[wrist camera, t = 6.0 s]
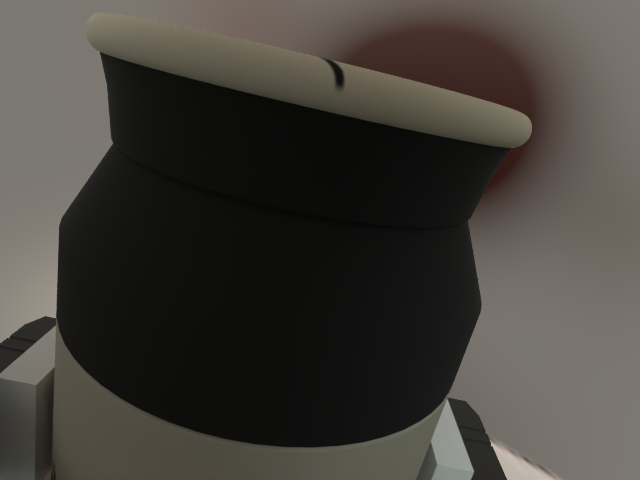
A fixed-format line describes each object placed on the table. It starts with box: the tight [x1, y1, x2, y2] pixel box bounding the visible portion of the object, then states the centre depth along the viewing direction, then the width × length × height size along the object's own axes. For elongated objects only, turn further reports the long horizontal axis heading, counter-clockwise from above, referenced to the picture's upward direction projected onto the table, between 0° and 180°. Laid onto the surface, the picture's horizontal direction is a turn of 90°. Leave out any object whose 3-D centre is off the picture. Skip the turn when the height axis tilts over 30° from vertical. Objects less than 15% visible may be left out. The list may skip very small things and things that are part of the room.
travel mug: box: [51, 13, 532, 480], centre depth 11 cm, size 8×8×18 cm
